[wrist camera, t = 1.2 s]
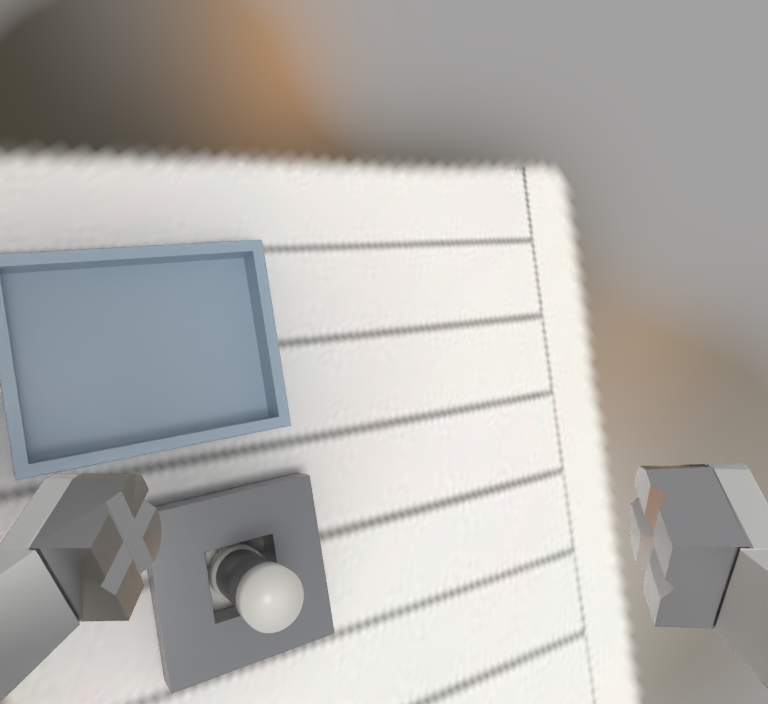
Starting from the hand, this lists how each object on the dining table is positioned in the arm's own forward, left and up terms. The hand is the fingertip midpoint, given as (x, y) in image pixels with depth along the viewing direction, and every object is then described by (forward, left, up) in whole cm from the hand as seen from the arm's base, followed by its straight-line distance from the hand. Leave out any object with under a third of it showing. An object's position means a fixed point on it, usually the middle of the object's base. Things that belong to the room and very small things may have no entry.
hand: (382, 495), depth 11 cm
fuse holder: (+7, -11, -40) cm, 42 cm away
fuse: (+7, -11, -40) cm, 42 cm away
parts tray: (+3, +6, -40) cm, 40 cm away
